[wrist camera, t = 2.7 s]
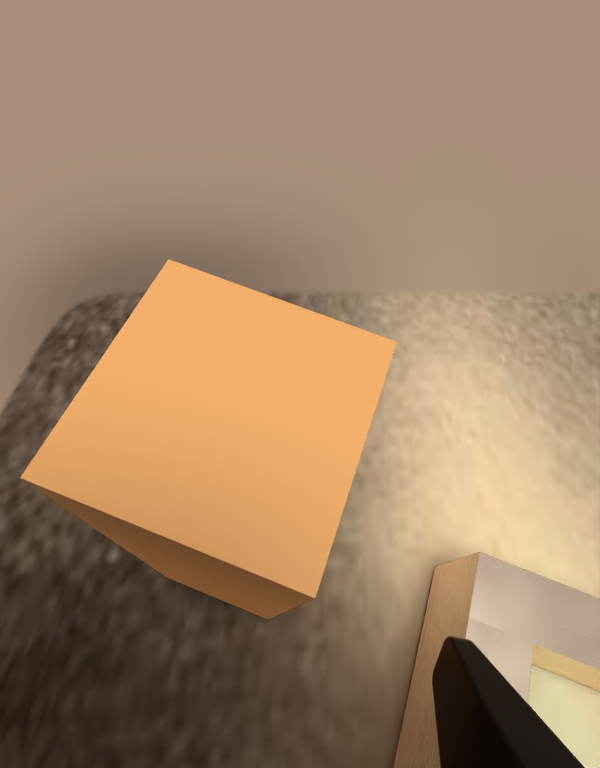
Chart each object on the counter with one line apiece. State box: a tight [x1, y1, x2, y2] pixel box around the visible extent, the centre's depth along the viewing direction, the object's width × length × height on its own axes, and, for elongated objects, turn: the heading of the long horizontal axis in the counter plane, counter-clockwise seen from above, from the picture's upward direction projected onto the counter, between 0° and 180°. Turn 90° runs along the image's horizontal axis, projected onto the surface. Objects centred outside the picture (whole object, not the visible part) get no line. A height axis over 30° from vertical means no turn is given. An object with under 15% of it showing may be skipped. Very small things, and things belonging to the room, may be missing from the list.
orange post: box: [20, 260, 397, 619], centre depth 13 cm, size 4×4×13 cm
